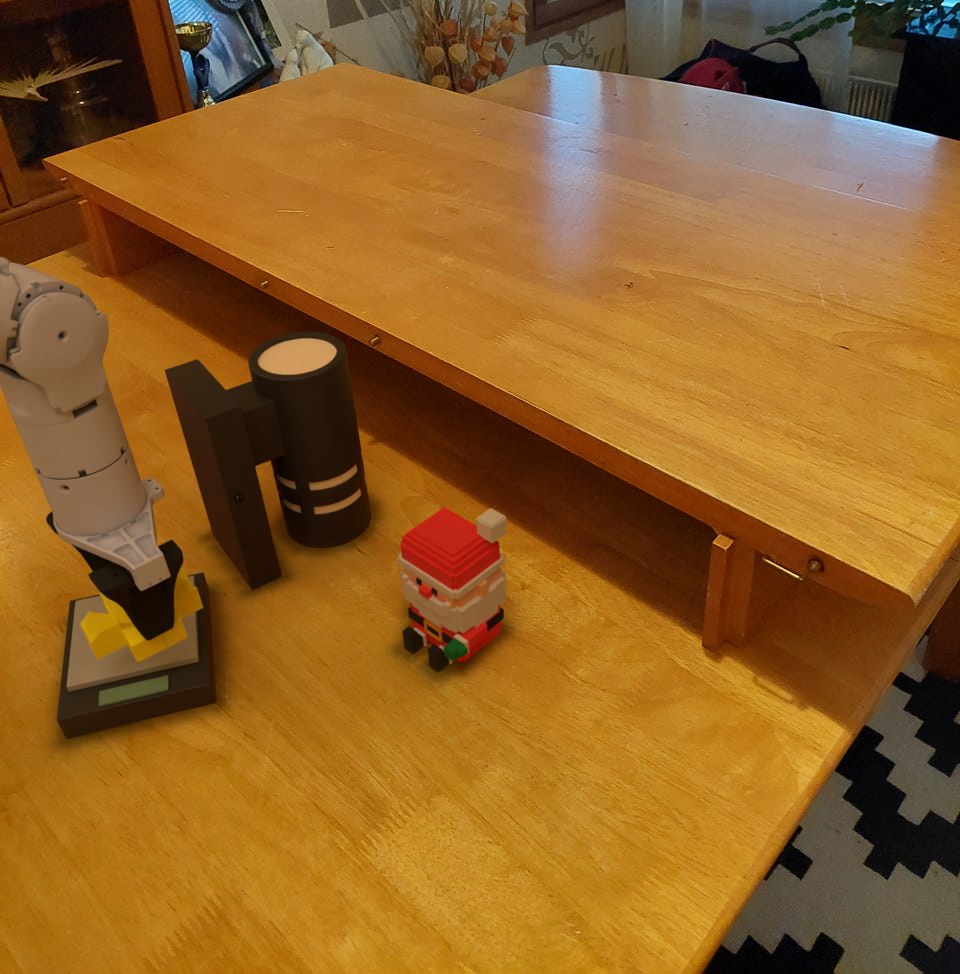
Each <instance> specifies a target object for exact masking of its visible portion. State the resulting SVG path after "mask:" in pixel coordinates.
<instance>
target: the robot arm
mask: <svg viewBox="0 0 960 974" xmlns="http://www.w3.org/2000/svg"><path fill="white" fill-rule="evenodd" d="M109 335H110V323H109V317H108V314H107V313H106V312H101V311H100V310H98V309H97V306H96V304H95V302H94V301H93V300H92V298H91V296H89V295H88V294H87V293H85V292H83V289H82V288H80V287H78V286H77V285H75V284H72V283H70V282H68V281H65V280H63V279H61V278H57V277H55V276H52V275H50V274H48V273H45V272H42V271H40V270H38V269H35V268H32V267H30V266H28V265H25V264H21V263H16V262H12V261H10V260H9V259H7V258H6V257H4V256H0V390H1V392H2V394H3V396H4V400H5V402H6V406H7V408H8V411H9V413H10V415H11V418H12V421H13V422H14V425H15V428H16V430H17V433H18V434H19V436H20V440H21V441H22V444H23V447H24V449H25V451H26V453H27V455H28V458H29V460H30V462H31V466H32V467H33V470H34V473H35V475H36V477H37V480H38V482H39V485H40V487H41V489H42V491H43V494H44V497H45V498H46V500H47V503H48V506H49V508H50V510H51V511H49V513H48V514H47V515H46V517H45V522H46V523H47V525H48V526H49V527H50V529H51V530H52V531H53V533H55V535H57V536H59V537H60V539H61V540H62V541H64V542H66V543H68V544H70V545H71V546H72V547H73V548H74V549H75V550H76V551H77V552H78V553H79V554H80V555H81V557H82V558H83V560H84V561H85V563H86V564H87V565H88V567H89V569H90V570H91V572H89V573H88V574H87V575H88V578H89V580H90V581H91V582H92V583H93V585H94V586H95V588H96V589H97V590H98V592H101V593H102V594H103V595H104V596H105V597H107V598H108V599H110V600H112V601H114V602H115V603H117V604H118V605H119V606H121V607H122V608H123V609H124V611H125V612H126V614H127V616H128V617H129V619H130V620H131V622H132V623H133V625H134V626H135V627H136V629H137V630H138V631H139V633H140V634H141V635H142V636H143V637H144V638H145V639H146V640H147V641H150V640H151V639H153V638H155V637H157V636H159V635H161V634H163V633H164V632H166V631H168V630H170V629H172V628H173V627H174V589H175V583H176V579H177V576H178V573H179V570H180V568H181V566H182V567H183V564H184V563H185V562H184V553H183V550H182V548H181V547H180V546H179V545H178V544H177V542H176V541H174V540H173V539H170V540H168V541H166V542H164V543H161V544H159V545H158V537H157V536H158V535H157V530H156V521H155V515H154V508H153V505H154V504H155V503H156V502H158V501H160V500H162V499H163V498H164V497H165V496H166V493H165V490H164V487H163V485H162V484H161V483H160V482H159V481H158V480H157V479H156V478H154V477H146V478H143V479H141V476H140V473H139V470H138V468H137V465H136V462H135V459H134V456H133V452H132V450H131V447H130V444H129V441H128V437H127V436H126V432H125V429H124V426H123V423H122V420H121V418H120V417H121V416H120V414H119V412H118V408H117V406H116V403H115V399H114V396H113V393H112V391H111V388H110V384H109V381H108V378H107V375H106V371H105V369H104V356H105V352H106V349H107V346H108V343H109V337H110V336H109Z"/></svg>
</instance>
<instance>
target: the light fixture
mask: <svg viewBox="0 0 960 974" xmlns="http://www.w3.org/2000/svg"><path fill="white" fill-rule="evenodd" d="M247 363H248V364H247V365H248V369H249V373H250V377H251V378H250V379H251V380H250V381H248V382H245V383H241V384H239V385H236V386H233V387H230V388H227V389H226V388H225V387H224V386H223V385H222V383H221V382H220V381H219V380H218V379H216V377H215V376H214V375H213V374H212V373H211V372H210V371H209V369H207V367H206V366H205V365H204V364H203V363H202V362H201V361H200V359H198V358H197V359H193V360H190V361H186V362H184V363H181V364H178V365H175V366H172V367H168V368H166V369H164V373H165V376H166V380H167V383H168V387H169V390H170V394H171V397H172V401H173V403H174V408H175V411H176V414H177V418H178V421H179V425H180V428H181V431H182V434H183V438H184V442H185V445H186V448H187V452H188V455H189V459H190V462H191V465H192V468H193V471H194V475H195V478H196V482H197V485H198V489H199V491H200V497H201V500H202V502H203V506H204V509H205V512H206V513H205V514H206V517H207V519H208V523H209V526H210V530H211V534H212V536H213V538H215V540H216V542H217V543H218V544H219V546H220V547H221V549H222V550H223V552H224V553H225V554H226V556H227V557H228V558H229V560H230V561H231V563H232V564H233V566H234V567H235V569H236V570H237V571H238V573H239V574H240V576H241V577H242V578H243V580H244V581H245V583H246V584H247V585H248V587H249V588H250V590H251V591H253V590H256V589H258V588H260V587H262V586H264V585H267V584H269V583H272V582H273V581H276V580H278V579H280V578H282V576H283V575H282V569H281V567H280V562H279V558H278V554H277V550H276V546H275V542H274V537H273V534H272V529H271V525H270V522H269V517H268V513H267V508H266V505H265V501H264V496H263V493H262V488H261V483H260V480H259V476H258V472H257V467H258V466H260V465H263V464H265V463H268V462H270V466H271V468H272V474H273V478H274V483H275V486H276V491H277V494H278V500H279V504H280V505H279V506H280V510H281V513H282V518H283V522H284V526H285V530H286V532H287V534H288V536H289V537H290V538H291V539H292V540H293V541H294V542H295V543H298V544H300V545H302V546H306V547H310V548H332V547H337V546H340V545H341V546H342V545H343V544H346V543H349V542H351V541H353V540H354V539H356V538H357V537H359V536H360V535H362V534H363V532H365V530H366V529H367V528H368V527H369V525H370V523H371V519H372V510H371V503H370V498H369V497H370V496H369V490H368V484H367V483H368V482H367V478H366V471H365V464H364V458H363V454H362V445H361V438H360V433H359V427H358V426H359V425H358V419H357V411H356V405H355V400H354V399H355V398H354V394H353V393H354V392H353V388H352V380H351V374H350V367H349V360H348V353H347V348H346V346H345V344H344V342H343V341H342V340H341V339H339V338H338V337H336V336H335V335H331V334H328V333H325V332H320V331H297V332H290V333H285V334H281V335H278V336H275V337H273V338H270V339H268V340H266V341H264V342H262V343H261V344H259V345H258V346H256V348H254V349H253V350H252V352H251V353H250V355H249V357H248V361H247Z"/></svg>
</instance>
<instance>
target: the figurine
mask: <svg viewBox="0 0 960 974" xmlns="http://www.w3.org/2000/svg"><path fill="white" fill-rule="evenodd" d="M475 522H476V524H475V523H473V522H471V521H469V520H468V519H466V518H465V517H463V516H461V515H459V514H457V513H456V512H454V511H452V510H451V509H449V508H447V507H445V506H444V507H443V508H441V509H440V510H438V511H436V512H435V513H434V514H431V516H429V517H427V518H426V519H424V520H423V521H422V522H420V523H418V524H417V525H416V526H414V527H413V528H411V529H410V530H408V531H407V532H405V534H404V535H402V536H401V541H400V546H399V547H400V553H398V554H397V563H398V565H399V566H400V567H402V569H403V570H401V571H400V578H401V586H402V594H403V599H404V600H405V601H407V602H409V604H410V606H409V607H408V608H407V613H408V618H409V619H411V620H412V626H413V628H412V626H410V625H408V626H407V627H406V628H404V629H403V630H402V631H401V632H402V640H403V646H404V649H406V650H407V651H408V652H410V653H411V654H414V653H416V652H417V651H418V650H420V649H421V648H422V647H425V648H426V647H427V646H428V643H431V644H432V645H431V646H429V647H428V648H427V654H428V663H429V667H431V668H432V669H434V671H436V672H440V671H442V669H444V668H445V667H446V666H448V665H449V666H451V665H453V663H454V662H456V661H457V662H458V663H461V662H462V663H466V662H467V661H468V660H470V658H472V657H473V656H474V655H475V654H477V653H478V652H479V651H480V650H481V649H482V648H484V647H485V646H486V645H487V644H488V643H490V642H491V641H492V640H493V639H495V638H496V637H497V636H499V635H500V634H501V633H502V621H503V620H504V619H505V610H504V608H502V607H501V605H502V604H503V603H504V602H506V601H507V580H506V572H505V571H504V570H502V569H501V568H502V567H503V566H505V565H506V558H505V557H506V556H505V554H503V553H501V549H500V548H501V547H500V541H498V540H499V539H501V538H502V537H504V536H505V535H507V534H508V529H507V528H508V526H507V516H506V515H505V514H503V513H501V512H500V511H497V510H495V509H493V508H491V507H490V508H488V509H487V510H486V511H484V512H482V513H480V515H479V516H476V517H475Z"/></svg>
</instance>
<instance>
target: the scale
mask: <svg viewBox="0 0 960 974" xmlns="http://www.w3.org/2000/svg"><path fill="white" fill-rule="evenodd" d="M187 576H188V578H189V581H190V582H191V583H192V584H193V586H195V587H197V589H198V592H199V596H200V599H201V602H202V605H203V608H202V609H200V610H198V611H196V612H194V613H192V614H190V615H188V616H186V617H184V618H182V622H183V625H184V627H185V630H186V633H187V636H188V638H186V639H184V640H182V641H180V642H178V643H176V644H174V645H172V646H170V647H168V648H166V649H164V650H162V651H160V652H158V653H156V654H154V655H152V656H150V657H148V658H146V659H144V660H142V661H140V662H137V660H136V659H135V657H134V656H133V654H132V653H131V651H130V649H129V648H128V646H125V647H123V648H121V649H119V650H117V651H115V652H112V653H110V654H108V655H106V656H104V657H102V658H100V659H98V660H97V658H96V656H95V654H94V653H93V651H92V649H91V648H90V645H89V643H88V641H87V639H86V636H85V634H84V632H83V630H82V627H81V625H80V623H81V622H82V621H83V619H84V618H85V616H86V615H87V614H88V612H89V611H91V612H97V613H104V614H108V613H107V611H106V608H105V606H104V603H103V601H102V598H101V596H100V594H96V595H90V596H86V597H82V598H76V599H71V600H70V601H69V605H68V615H67V623H66V632H65V639H64V640H65V642H64V650H63V660H62V669H61V678H60V687H59V696H58V705H57V712H56V722H57V724H58V726H59V728H60V730H61V731H62V733H63V735H64V738H65V739H71V738H75V737H79V736H83V735H87V734H91V733H96V732H100V731H105V730H108V729H112V728H116V727H117V728H118V727H121V726H125V725H129V724H133V723H137V722H142V721H146V720H150V719H154V718H159V717H162V716H167V715H171V714H175V713H179V712H183V711H188V710H192V709H195V708H200V707H204V706H208V705H212V704H216V703H217V691H216V674H215V659H214V645H213V644H214V643H213V642H214V641H213V629H212V615H211V614H212V613H211V598H210V597H211V595H210V588H209V585H208V582H207V579H206V576H205V573H204V572H203V571H202V572H198V573H193V574H187Z"/></svg>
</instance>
